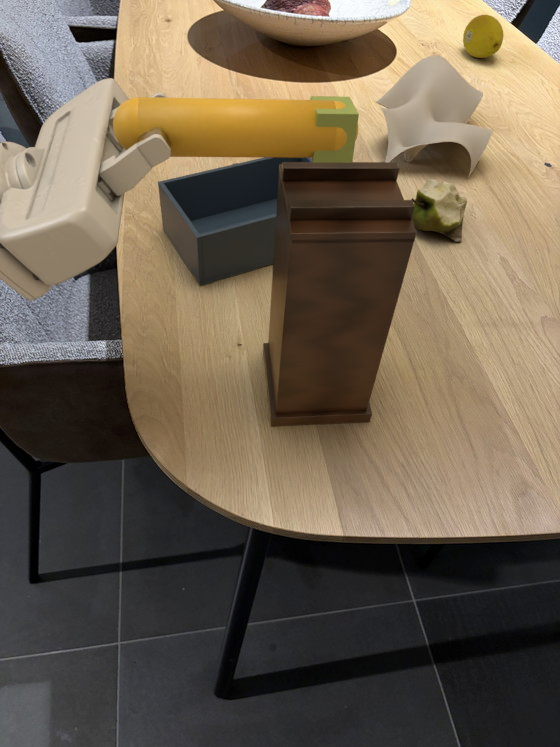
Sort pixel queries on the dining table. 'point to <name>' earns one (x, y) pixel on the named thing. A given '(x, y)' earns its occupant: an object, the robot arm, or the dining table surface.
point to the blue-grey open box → (223, 217)
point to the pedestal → (333, 287)
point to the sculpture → (432, 111)
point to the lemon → (483, 36)
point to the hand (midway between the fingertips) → (167, 121)
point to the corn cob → (245, 126)
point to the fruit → (439, 209)
